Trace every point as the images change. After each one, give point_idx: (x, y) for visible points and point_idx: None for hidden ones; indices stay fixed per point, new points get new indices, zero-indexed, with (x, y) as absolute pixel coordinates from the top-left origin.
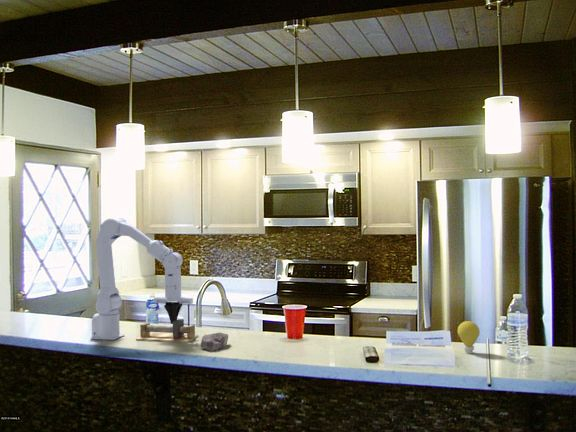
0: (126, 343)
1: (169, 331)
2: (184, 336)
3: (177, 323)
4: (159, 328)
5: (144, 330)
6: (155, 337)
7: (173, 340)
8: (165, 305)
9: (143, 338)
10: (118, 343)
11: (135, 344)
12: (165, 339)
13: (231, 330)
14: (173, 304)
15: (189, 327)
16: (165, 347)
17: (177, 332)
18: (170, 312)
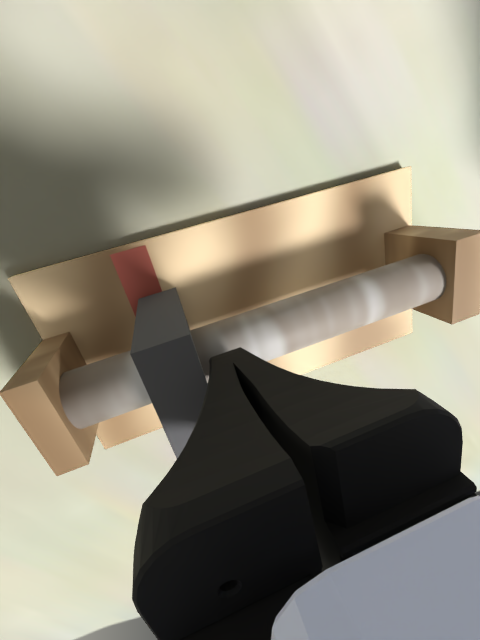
0: (410, 43)
1: (235, 315)
2: None
3: (132, 347)
4: (324, 293)
5: (418, 238)
6: (314, 259)
7: (128, 244)
8: (419, 417)
9: (367, 193)
10: (459, 18)
11: (334, 36)
12: (208, 241)
13: (78, 624)
14: (276, 563)
15: (9, 386)
16: (11, 22)
17: (136, 312)
18: (270, 399)
